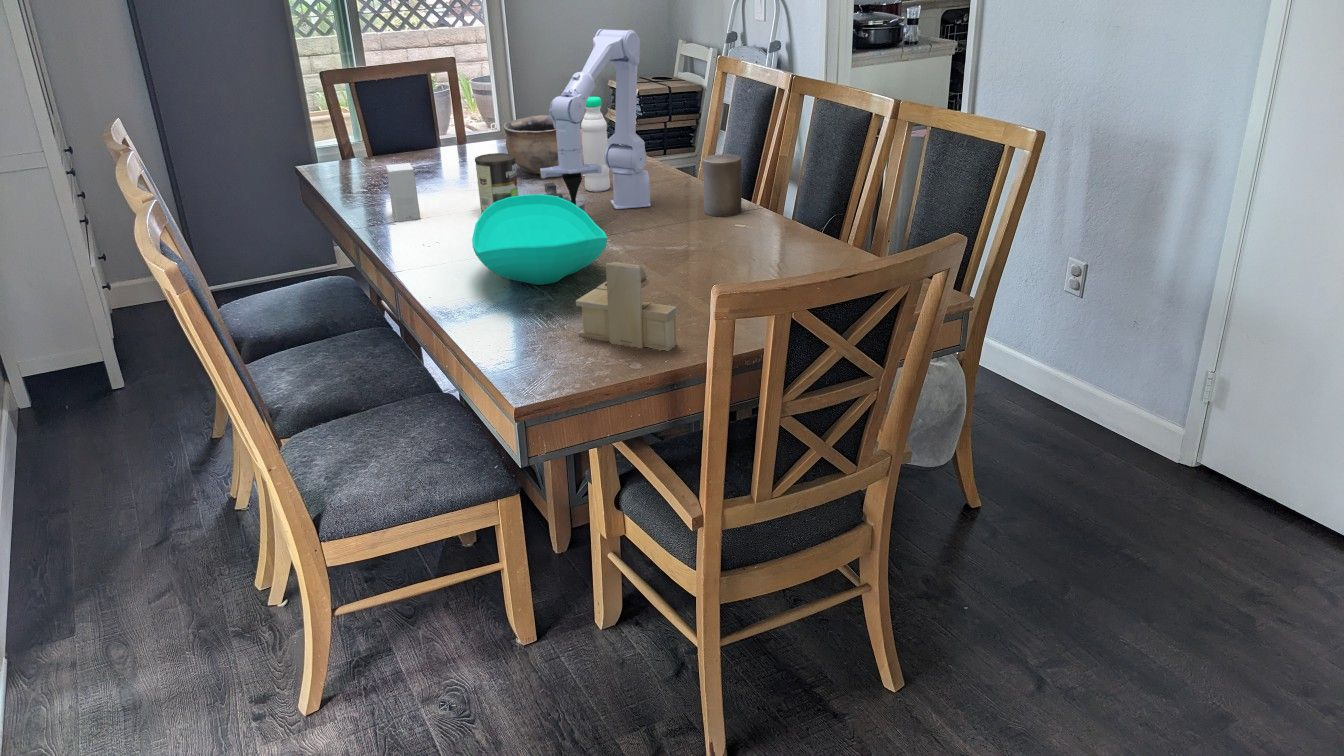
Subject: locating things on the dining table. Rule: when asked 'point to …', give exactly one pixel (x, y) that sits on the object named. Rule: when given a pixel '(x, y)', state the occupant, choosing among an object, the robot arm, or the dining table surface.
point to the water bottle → (595, 145)
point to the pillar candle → (722, 185)
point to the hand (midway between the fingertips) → (573, 204)
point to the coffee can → (496, 178)
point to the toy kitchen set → (627, 311)
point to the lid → (563, 194)
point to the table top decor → (536, 238)
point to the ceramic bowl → (532, 143)
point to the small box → (403, 192)
